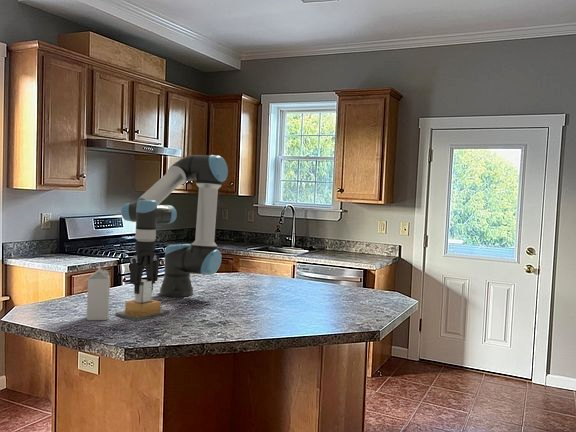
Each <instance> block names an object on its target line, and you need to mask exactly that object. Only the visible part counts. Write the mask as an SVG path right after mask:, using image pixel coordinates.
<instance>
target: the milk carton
mask: <svg viewBox="0 0 576 432" xmlns="http://www.w3.org/2000/svg"><path fill="white" fill-rule="evenodd" d="M101 267H102V266H101V265H99V267H98V269H97V270H96V271H94V272H93V273H92V274H91V275H90V276H89V277H88V279H87V298H86V299H87V301H86V321H108V319H109V317H110V316H109V315H110V287H111V275H109V274H110V272H109V271H108V270H107V269H102V268H101Z"/></svg>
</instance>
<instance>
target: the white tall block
mask: <svg viewBox="0 0 576 432" xmlns="http://www.w3.org/2000/svg"><path fill="white" fill-rule="evenodd" d="M137 282H138V281H137ZM140 285H142V302H141V304H144V303H149V302H151V300H152V297H151V287H152V281H149V280H147V279H141V284H140ZM137 303H139V302H137Z"/></svg>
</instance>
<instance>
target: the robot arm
mask: <svg viewBox="0 0 576 432" xmlns="http://www.w3.org/2000/svg"><path fill="white" fill-rule="evenodd" d="M225 160H226V159H224V157H222V156H220V155H217V154H216V155H215V154H202V155H201V154H191V155H187V156H185V157H183V158H181V159H179V160H177V161H176V162H174V163H173V164H172V165H171V166H170V167H168V168H167V172H166V173H165V174H164V175H163V176H162V177H161V178H159V180H157V182H155V183H154V184H153V185H152V186H151V187H150V188H149V189H147V190H146V191H145V192H144V193H143V194H142V195H141V196H139V198H137V200H136V201H134V202H128V203H127V202H126V203H125V204H123V206H122V207H121V212H120V213H121V217H122V219H123V220H124V221H125V222H126V221H127V222H132V223H135V237H134V238H135V242H134V251H135V254H134V256H133V257H129V258H128V260H129V261H128V262H129V283H130V284H131V285H134V288H133V289H134V290H133V291H134V293H133V294H135V296H134V297H135V299H134V300H135V302H139V303H141V302H142V285H140V284H141V280H143V279H142V278H143V273H144V268H145V274H146V280H149V281H152V287H151V298H152V294H153V293H152V292H153V290H154V284H156V282H158V279H159V263H160V258H161V256H159V255H156V254H155V250H156V241H155V240H156V238H157V225H169V224H172V223H174V222H175V221H176V219H177V218H178V217H177V216H178V214H177V213H178V212H177V209H176V208H175V207H174V206H173V205H171V204H170V205H169V204H162V202H163V201H164V200H166V199H167V198H168V197H169V195H170V194H172V193H173V192H174V191H175V190H176V189H177V188H178V187H179V186H181V185H182V186H183V185H184V184H185V183H187V182H189V181H195V184H196V186H197V187H198V199H197V210H196V225H195V226H196V227H195V238H194V239H195V240H194V241H193V242H191V243H183V244H182V243H181V244H179V243H178V244H169V245H167V246H166V247H165V250H164V251H165V254H164V276H163V280H162V284H161V286H160V288H159V294H160V295H162V296H163V297H164V296H165V297H175V298H177V297H178V298H179V297H188V296H189V297H190V296H192V295H193V294H194V287H193V285H192V281H191V274H195V275H202V276H212V275H214V274H216V273H217V271H219V268H220V267H221V264H222V256H223V255H222V252H221V251H220V250H219V249H218V245H217V244H216V242H215V239H216V238H215V237H216V223H217V222H216V221H217V210H218V209H217V208H218V196H219V194H218V192H219V189H220V188H222V185H223V183H224V182H225V181H227V178H228V176H229V175H228V174H229V169H228V164H227V161H225ZM137 281H138V282H137Z"/></svg>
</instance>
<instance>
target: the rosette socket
mask: <svg viewBox="0 0 576 432" xmlns="http://www.w3.org/2000/svg"><path fill="white" fill-rule="evenodd" d="M161 304H162V302H161V301H160V300H155V299H151V302H149V303H144V304H141V303H137V302H135V299H132V300H127V301H125V305H124V306H125V309H124V310H122V311H118V312H115V317H121V318H123V319H127V320H131V321H137V322H138V321H143V320H147V319H148V320H149V319H151V318H156V317H160V316H164V315H170V310H166V309H162V308H161Z"/></svg>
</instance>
